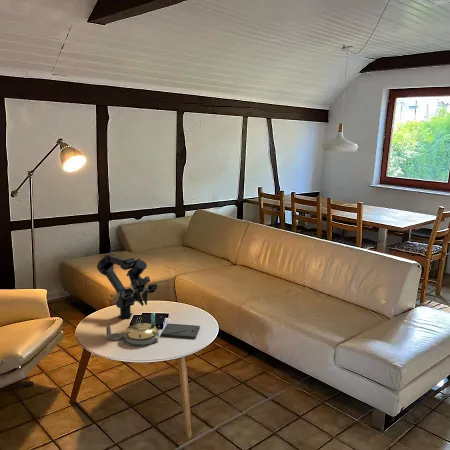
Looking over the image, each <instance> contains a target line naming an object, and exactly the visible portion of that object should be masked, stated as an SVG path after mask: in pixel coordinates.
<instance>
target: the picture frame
mask: <svg viewBox="0 0 450 450" xmlns="http://www.w3.org/2000/svg"><path fill="white" fill-rule="evenodd" d="M200 328H201V325H195V324H194V325H193V324H181V323H180V324H179V323H166V326H165V327H164V329H163V330H162V332H161V334H160V337H163V338H175V339H177V338H179V339H188V340H189V339H193V340H196V338H197V336H198V334H199V331H200Z"/></svg>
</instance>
